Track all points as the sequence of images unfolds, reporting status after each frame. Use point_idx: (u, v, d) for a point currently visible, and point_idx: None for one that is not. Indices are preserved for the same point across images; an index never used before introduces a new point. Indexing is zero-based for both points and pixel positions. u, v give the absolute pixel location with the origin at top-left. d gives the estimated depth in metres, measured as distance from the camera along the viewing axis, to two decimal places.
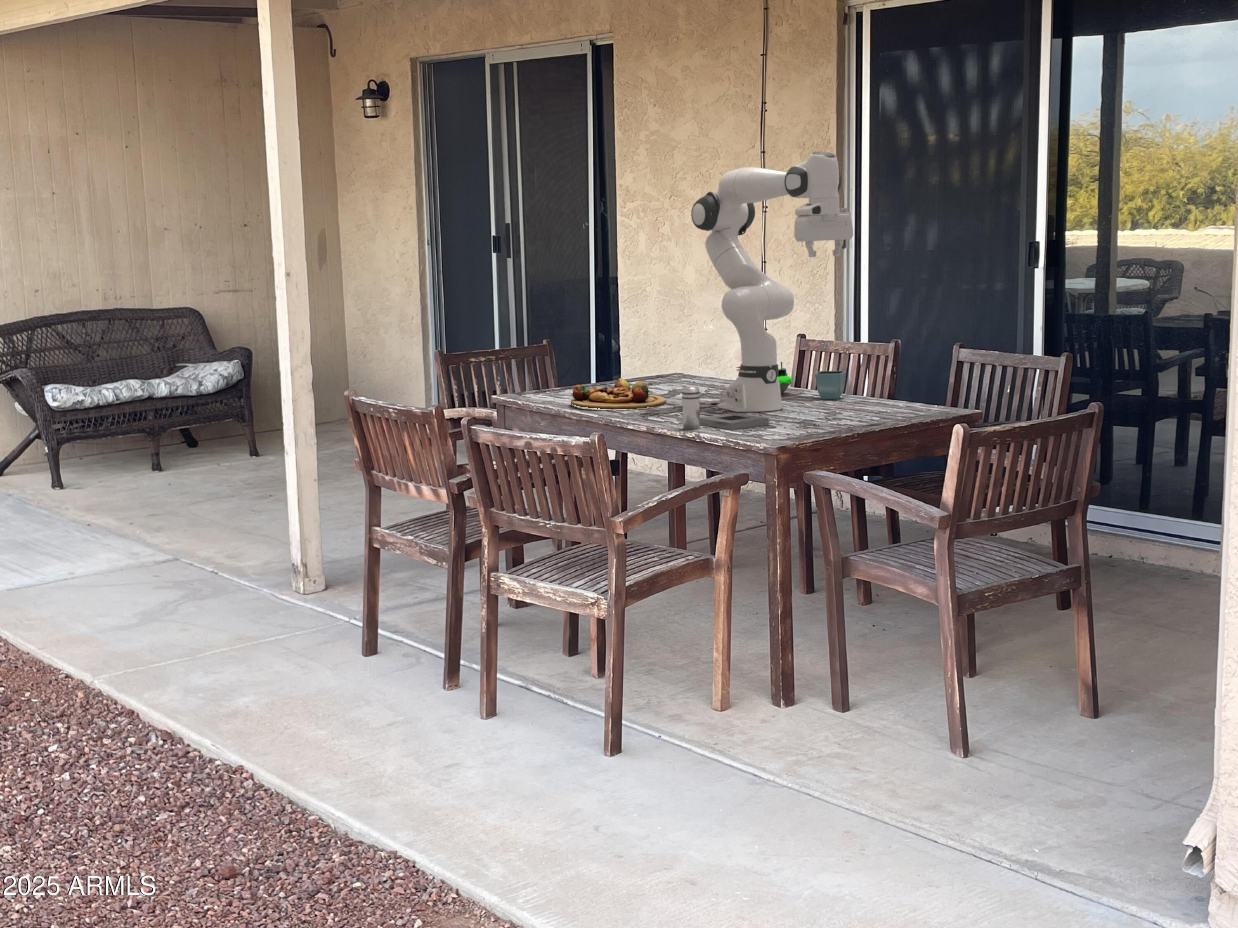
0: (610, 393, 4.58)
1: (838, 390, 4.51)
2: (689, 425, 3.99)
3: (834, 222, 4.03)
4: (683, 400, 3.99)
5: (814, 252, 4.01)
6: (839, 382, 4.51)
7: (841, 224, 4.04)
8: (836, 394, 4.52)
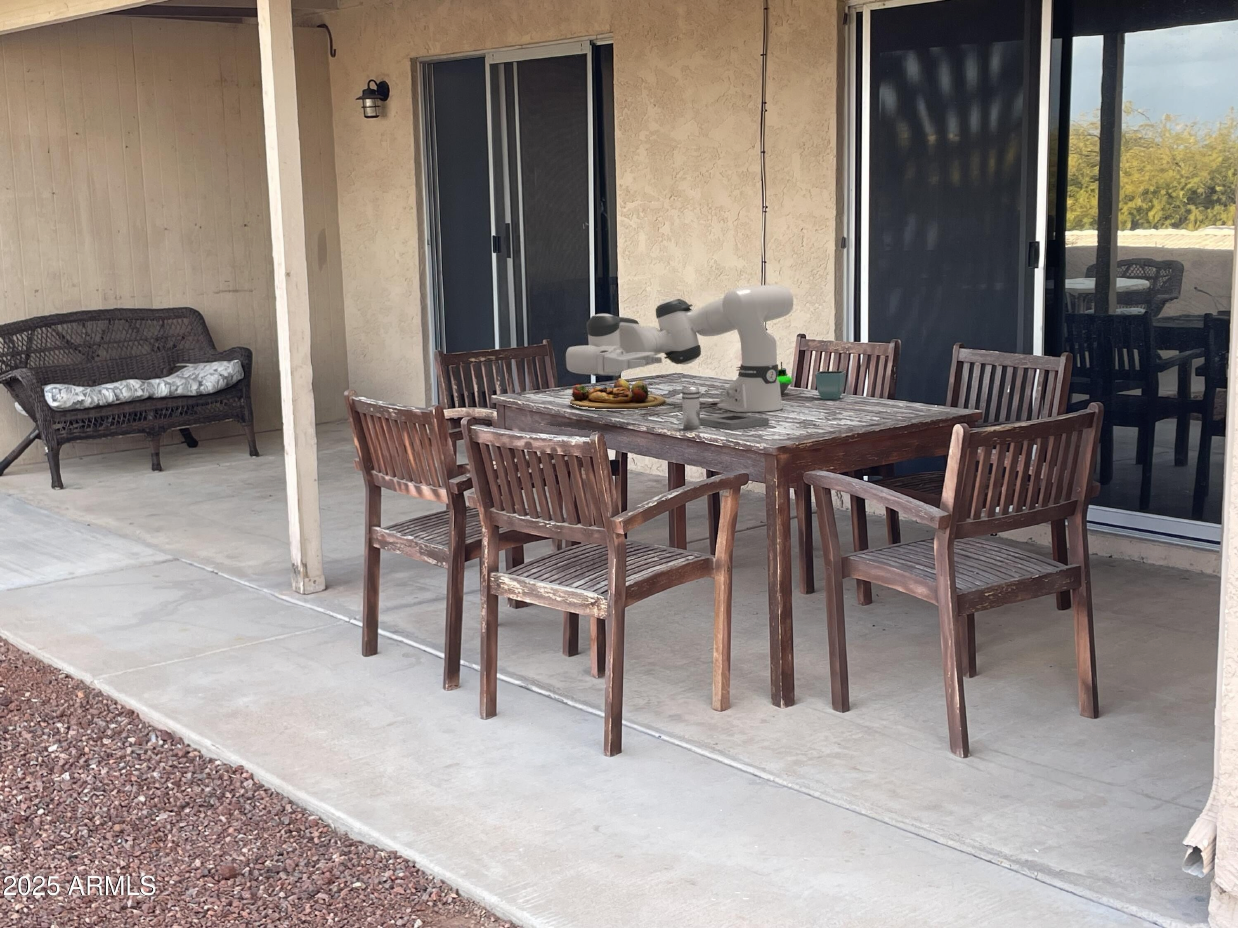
0: (610, 393, 4.58)
1: (838, 390, 4.51)
2: (689, 425, 3.99)
3: (628, 355, 4.12)
4: (683, 400, 3.99)
5: (640, 360, 4.01)
6: (839, 382, 4.51)
7: None
8: (836, 394, 4.52)
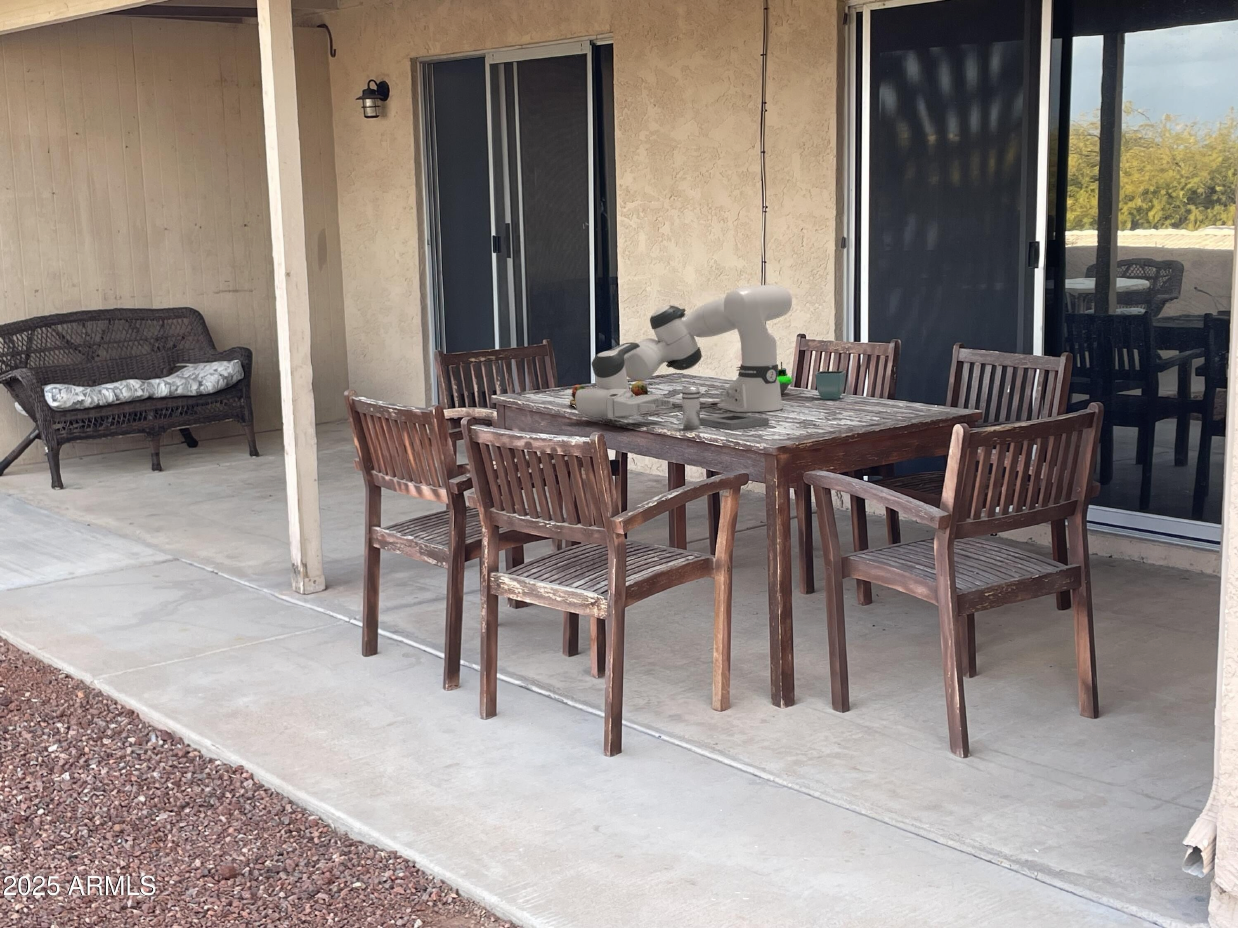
0: None
1: (838, 390, 4.51)
2: (689, 425, 3.99)
3: (638, 398, 4.12)
4: (683, 400, 3.99)
5: (650, 404, 4.02)
6: (839, 382, 4.51)
7: (645, 397, 4.14)
8: (836, 394, 4.52)
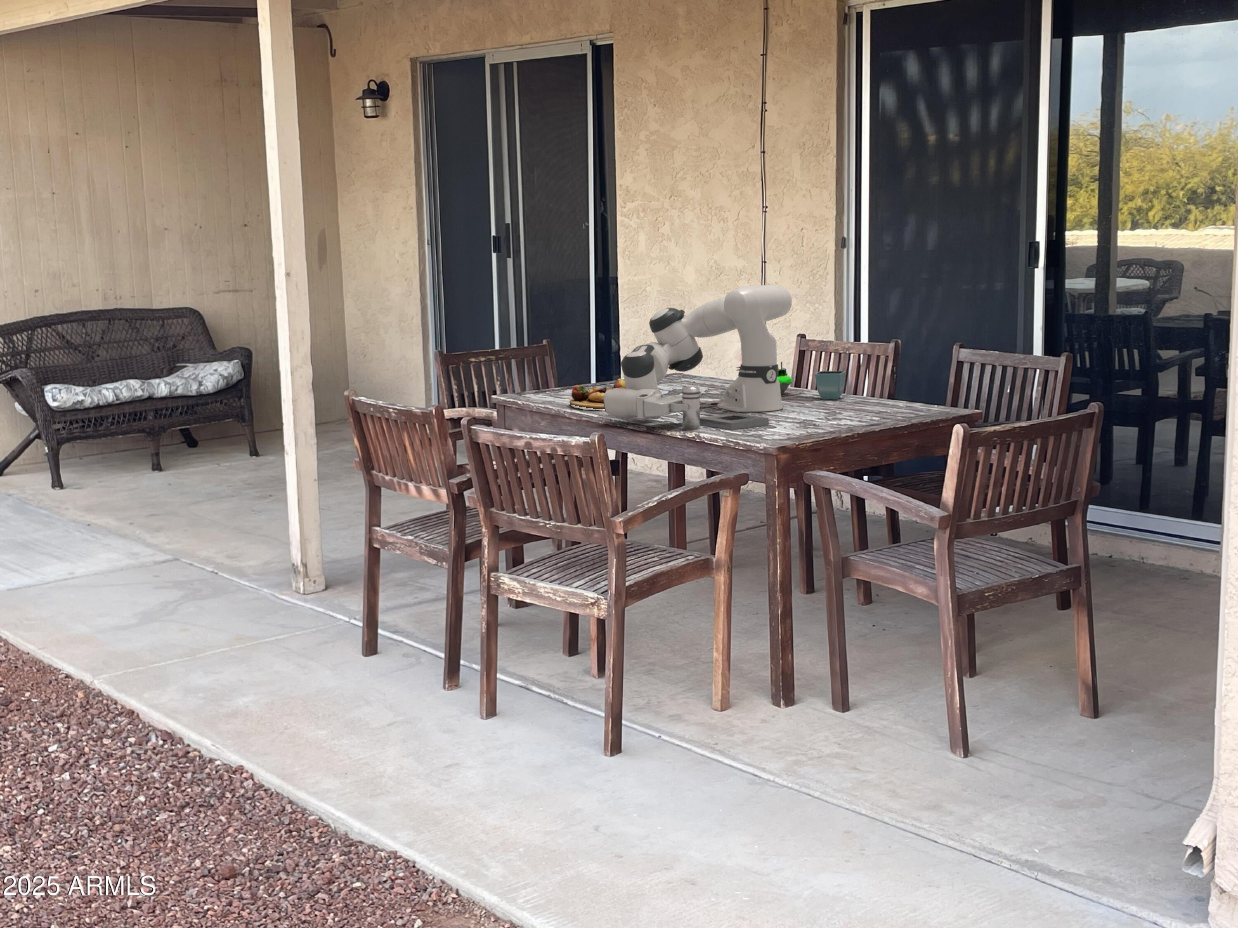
0: None
1: (838, 390, 4.51)
2: (689, 425, 3.99)
3: (668, 398, 4.07)
4: (683, 400, 3.99)
5: None
6: (839, 382, 4.51)
7: None
8: (836, 394, 4.52)
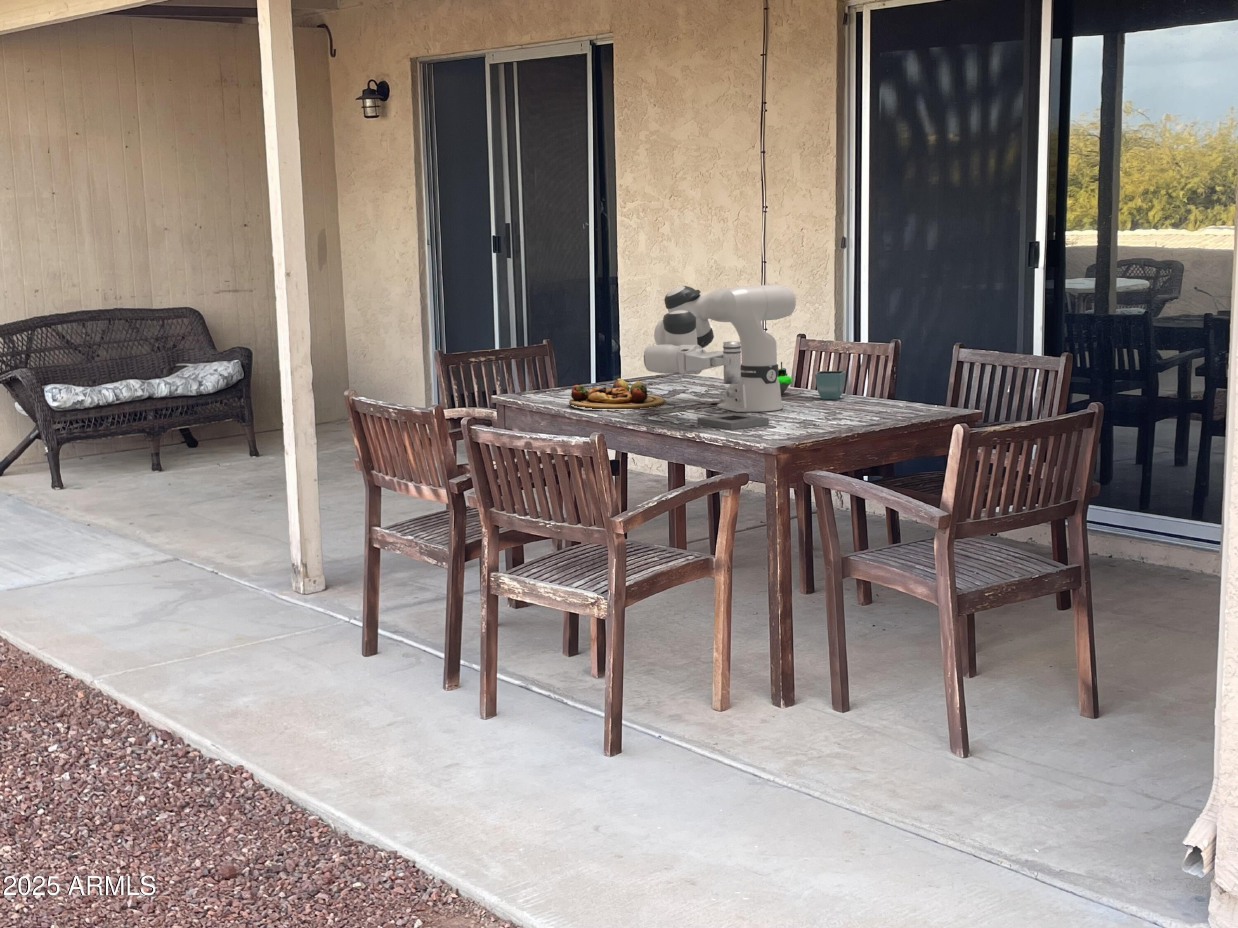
0: (609, 393, 4.57)
1: (838, 390, 4.51)
2: (731, 380, 4.02)
3: (708, 353, 4.09)
4: (724, 355, 4.02)
5: (725, 359, 4.01)
6: (839, 382, 4.51)
7: (715, 353, 4.11)
8: (836, 394, 4.52)
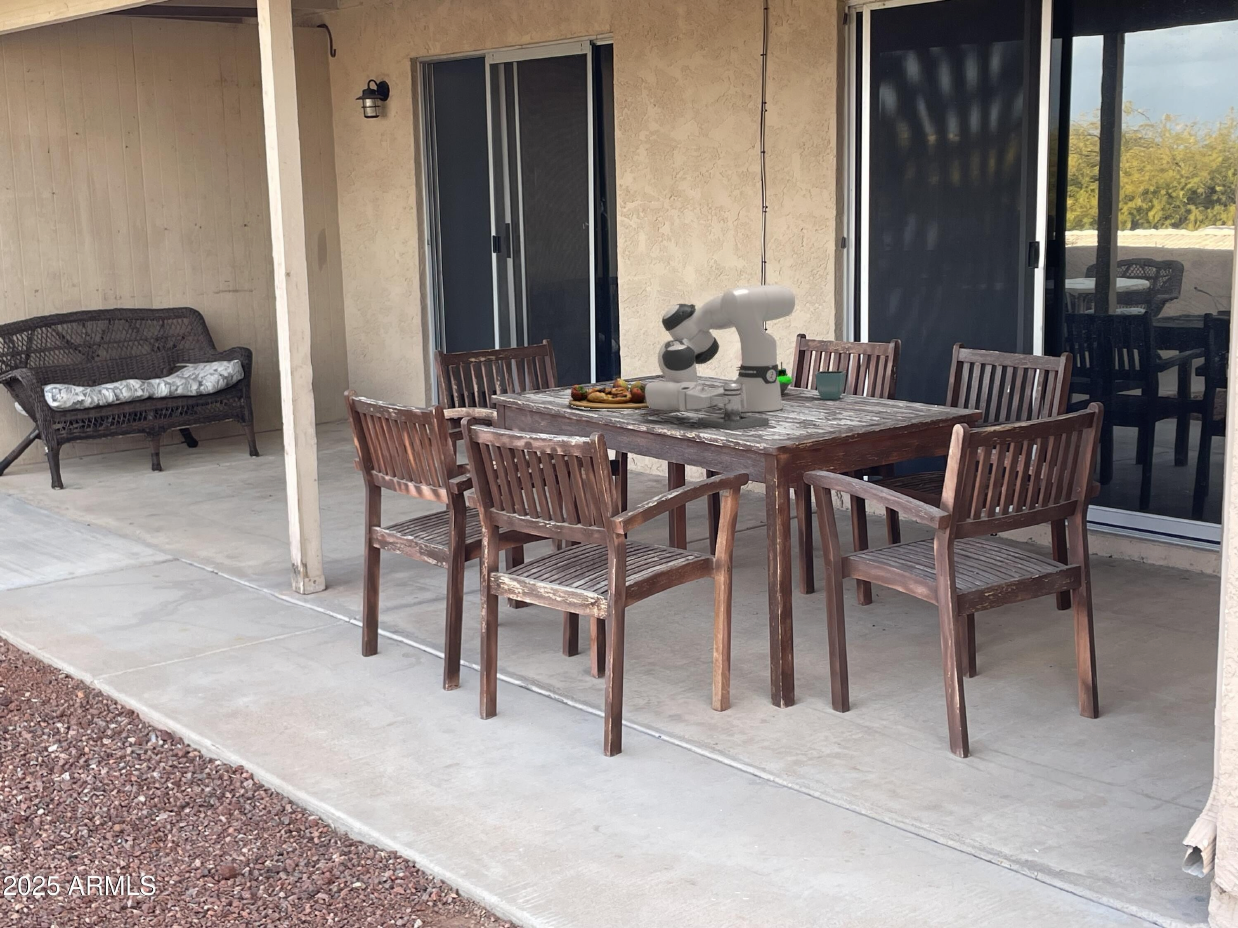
0: (608, 393, 4.57)
1: (838, 390, 4.51)
2: None
3: (709, 391, 4.12)
4: (725, 396, 4.04)
5: (723, 397, 4.01)
6: (839, 382, 4.51)
7: None
8: (836, 394, 4.52)
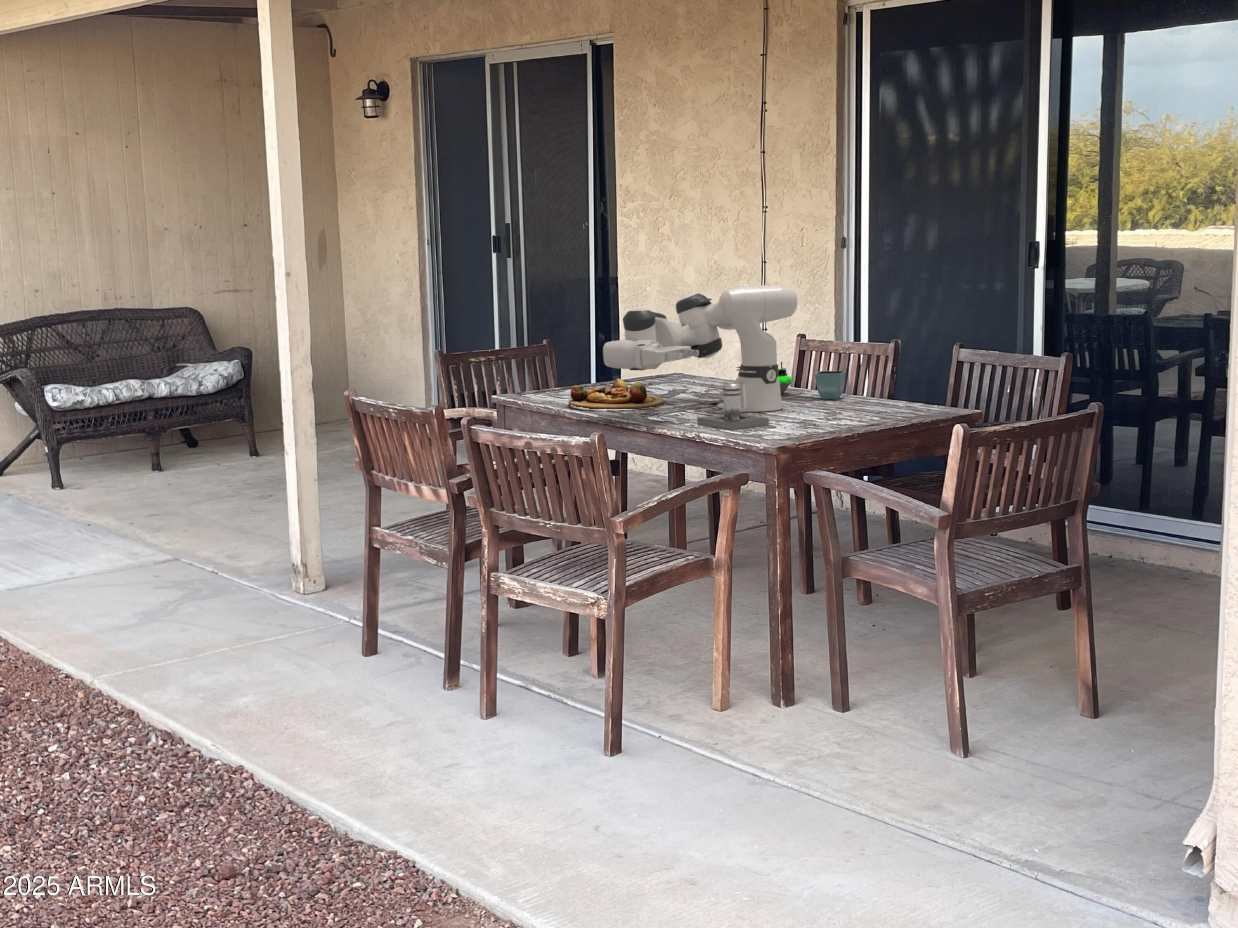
0: (608, 393, 4.57)
1: (838, 390, 4.51)
2: None
3: (665, 348, 4.15)
4: (724, 397, 4.04)
5: None
6: (839, 382, 4.51)
7: None
8: (836, 394, 4.52)
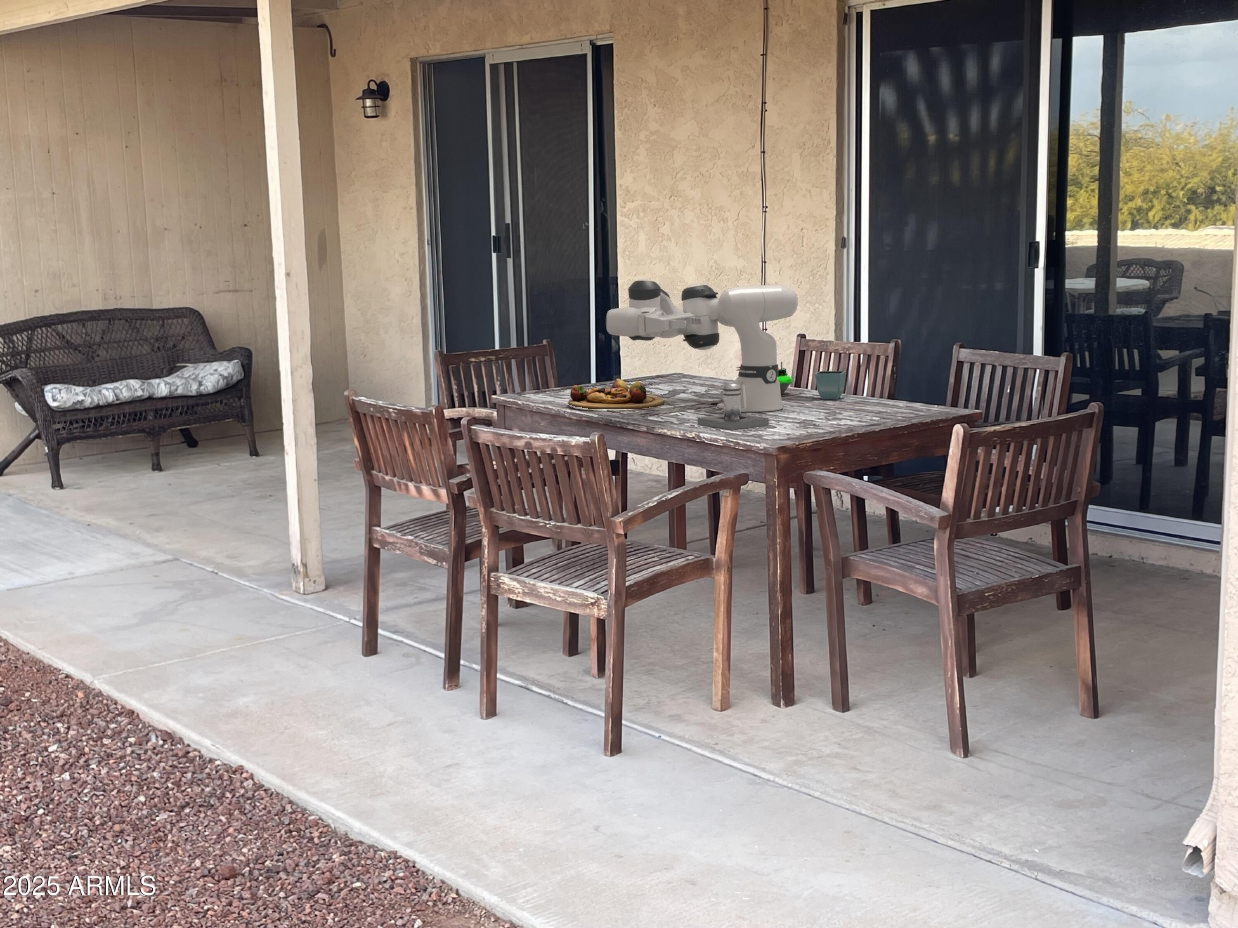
0: (608, 393, 4.57)
1: (838, 390, 4.51)
2: None
3: None
4: (725, 397, 4.04)
5: (682, 321, 4.04)
6: (839, 382, 4.51)
7: None
8: (836, 394, 4.52)
